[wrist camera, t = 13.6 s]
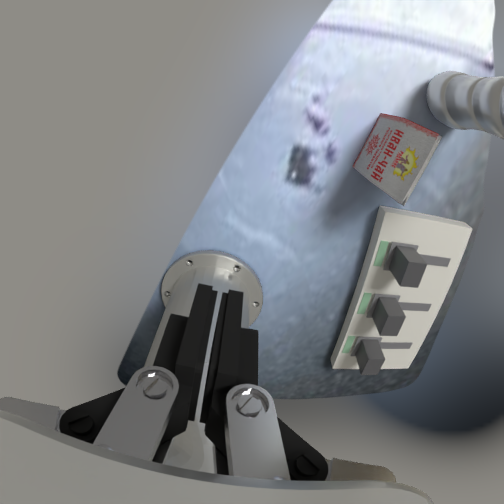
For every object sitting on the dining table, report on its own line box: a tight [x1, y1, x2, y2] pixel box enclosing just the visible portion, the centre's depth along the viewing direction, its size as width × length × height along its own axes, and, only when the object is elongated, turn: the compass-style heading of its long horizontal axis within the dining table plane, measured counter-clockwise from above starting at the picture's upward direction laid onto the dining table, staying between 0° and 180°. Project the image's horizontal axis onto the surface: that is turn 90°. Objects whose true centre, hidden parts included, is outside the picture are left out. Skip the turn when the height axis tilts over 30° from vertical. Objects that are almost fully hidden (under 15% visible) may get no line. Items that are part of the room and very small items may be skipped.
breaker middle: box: [366, 293, 406, 336], centre depth 36 cm, size 4×4×4 cm
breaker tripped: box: [383, 242, 427, 288], centre depth 33 cm, size 4×4×4 cm
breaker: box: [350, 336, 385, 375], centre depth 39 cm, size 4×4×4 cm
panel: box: [330, 206, 472, 369], centre depth 39 cm, size 24×13×2 cm, turn 174°
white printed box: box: [353, 113, 442, 206], centre depth 27 cm, size 4×7×10 cm, turn 156°
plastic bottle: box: [427, 71, 504, 139], centre depth 19 cm, size 6×7×20 cm
